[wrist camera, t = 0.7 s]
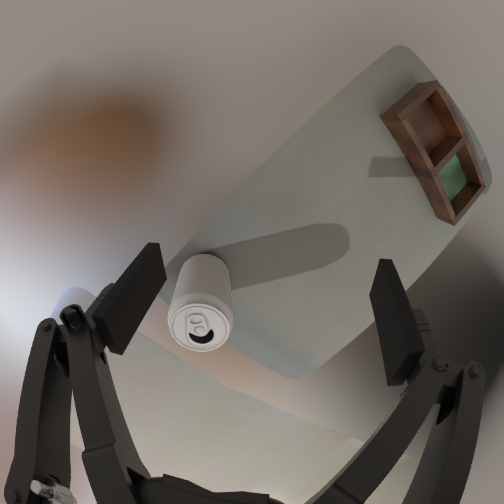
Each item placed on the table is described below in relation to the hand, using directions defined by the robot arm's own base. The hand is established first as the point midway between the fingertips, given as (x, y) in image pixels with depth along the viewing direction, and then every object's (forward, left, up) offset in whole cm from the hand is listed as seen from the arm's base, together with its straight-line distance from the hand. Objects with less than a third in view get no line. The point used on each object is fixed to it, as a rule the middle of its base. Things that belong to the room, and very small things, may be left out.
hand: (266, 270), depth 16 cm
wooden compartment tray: (+12, +26, -18) cm, 34 cm away
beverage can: (+3, -10, -19) cm, 21 cm away
